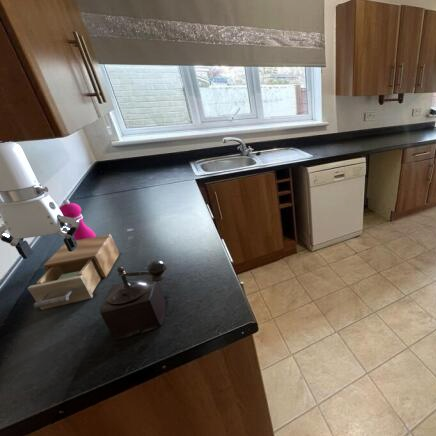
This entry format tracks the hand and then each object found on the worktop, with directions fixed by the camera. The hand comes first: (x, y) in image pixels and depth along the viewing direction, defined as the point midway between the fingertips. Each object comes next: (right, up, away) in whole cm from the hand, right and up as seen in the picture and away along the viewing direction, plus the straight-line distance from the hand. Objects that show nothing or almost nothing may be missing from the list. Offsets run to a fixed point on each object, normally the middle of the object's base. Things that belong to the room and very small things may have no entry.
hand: (51, 252), depth 74 cm
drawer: (+2, -13, +5) cm, 14 cm away
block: (+1, -12, +6) cm, 13 cm away
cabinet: (-3, -9, +16) cm, 19 cm away
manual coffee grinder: (+30, -17, -3) cm, 34 cm away
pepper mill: (-18, -2, +32) cm, 37 cm away
